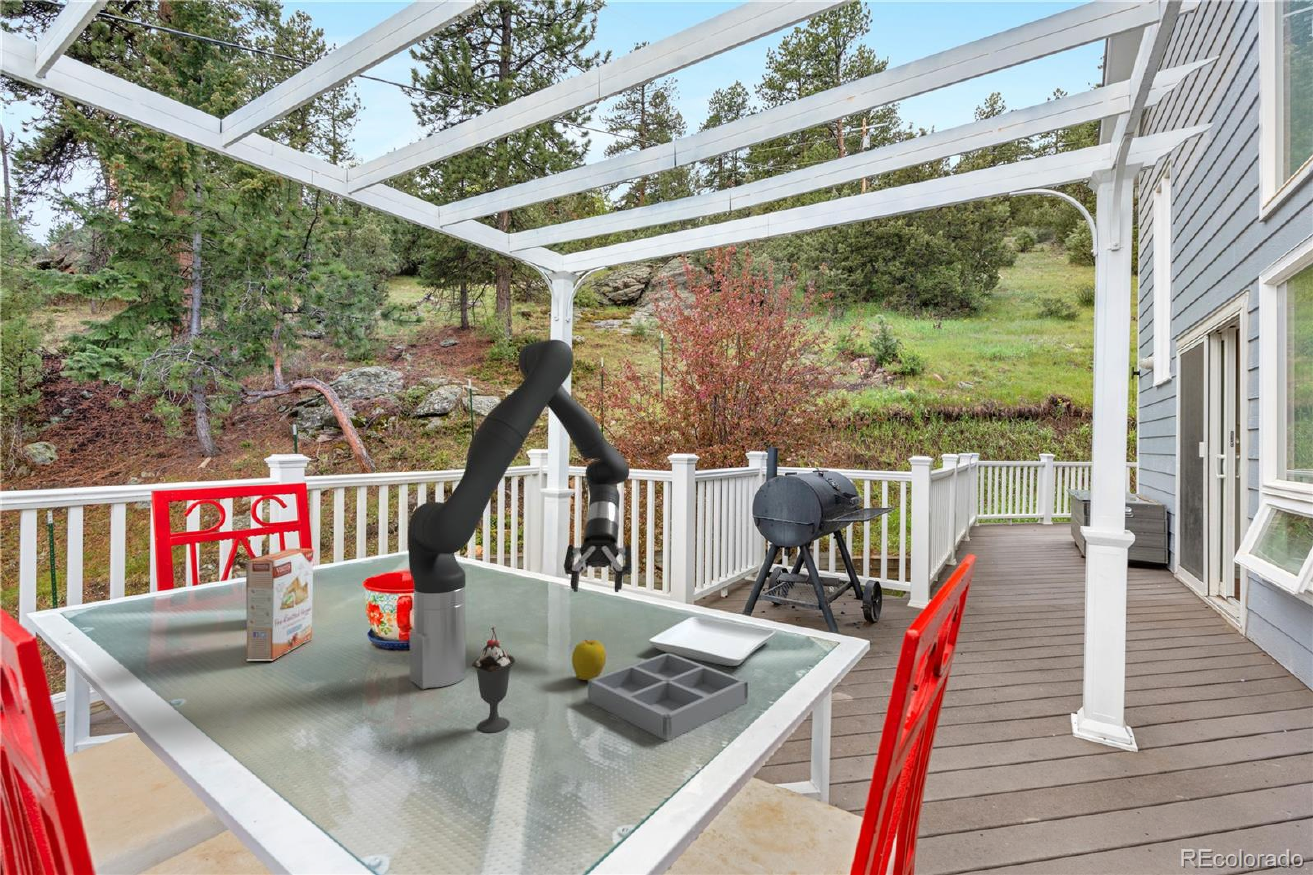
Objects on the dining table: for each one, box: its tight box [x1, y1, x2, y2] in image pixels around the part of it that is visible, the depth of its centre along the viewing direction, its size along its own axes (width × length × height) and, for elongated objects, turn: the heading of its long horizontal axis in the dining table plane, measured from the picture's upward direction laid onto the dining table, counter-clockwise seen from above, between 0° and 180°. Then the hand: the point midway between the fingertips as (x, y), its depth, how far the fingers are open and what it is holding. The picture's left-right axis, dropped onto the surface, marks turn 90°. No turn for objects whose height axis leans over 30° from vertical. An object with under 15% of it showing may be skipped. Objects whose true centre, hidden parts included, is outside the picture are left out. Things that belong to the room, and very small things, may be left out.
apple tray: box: [587, 652, 749, 742], centre depth 105 cm, size 20×20×4 cm
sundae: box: [471, 626, 516, 734], centre depth 97 cm, size 7×7×15 cm
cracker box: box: [246, 548, 314, 660], centre depth 130 cm, size 14×6×21 cm, turn 179°
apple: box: [571, 639, 607, 681], centre depth 115 cm, size 6×6×8 cm
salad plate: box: [648, 616, 776, 667], centre depth 132 cm, size 21×21×3 cm
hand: (595, 590), depth 126 cm, fingers open, 8 cm apart
